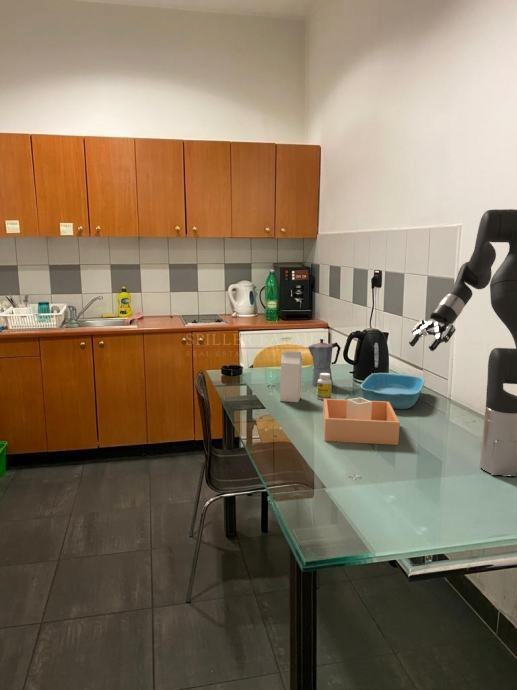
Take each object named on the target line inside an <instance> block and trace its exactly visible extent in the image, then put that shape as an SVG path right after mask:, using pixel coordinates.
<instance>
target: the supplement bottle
mask: <svg viewBox="0 0 517 690" xmlns="http://www.w3.org/2000/svg"><path fill="white" fill-rule="evenodd" d="M329 378H330V374H329V373H320V379H319V380H318V387H317V389H316V390H317V391H316V398H317V399H319V400H322V401H324V399H332V398H331V397H332V387H333V384H332V381H333V380H332V381H331V380H330V379H329Z"/></svg>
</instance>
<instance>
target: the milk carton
mask: <svg viewBox="0 0 517 690" xmlns="http://www.w3.org/2000/svg"><path fill="white" fill-rule="evenodd" d="M302 368H303V358H302V351H297V350H296V351H294V350H282V355H281V359H280V376H279V377H280V380H279V381H280V382H279V385H280V386H279V402H289V403H299V401H300V399H301V395H302V393H301V391H302V370H303V369H302Z"/></svg>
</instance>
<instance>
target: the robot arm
mask: <svg viewBox="0 0 517 690" xmlns="http://www.w3.org/2000/svg"><path fill="white" fill-rule="evenodd" d="M492 243H508V245H509V247H508V252H507V254H506V256H505V258H504V260H503V261H502V263H501V264H500V265H499V267H498V268H497V269H496V271H495V272H494V274H493V276H492V266H493V265H494V263H495V262H496V258H497V253H496V252H497V251H496V249H495V247H494V246H493V244H492ZM455 279H456V280H455V281H454V284H453V285H452V287H451V288H450V290H449V291H448V292H447V294H446V295H445V296H444V297H443V298H442V299H441V300H440V301H439V302H438V304H437V305H436V307H435V308H434V310H433V311H432V312H431V313H430V317H429V319H428V320H424V319H423V318H420V319H419V321H418V322H417V323H416V324H415V325H414V326H413V327H412V329H410V331H411V333H412V334H413V335H412V337H411V338H410V339H409V342H408V343H409V345H410V347H415V345H416V344H417V343H418V341H419V340H420V339H421V338H423V337H427V336H434V337H435V338H434V339H433V340H432V341H431V343H430V344H429V345H428V349H429V350H430V351H431V352H434V351H435V350H437V348H438V346H439V345H441V344H442V343H445V344H446V343H448V342H449V341H450V339H451V338H452V336H453V335H454V334H455V332H456V330H457V329H456V328H455V326H454V325H453V324H454V323H455V321H456V320H457V319H458V318H459V316H460V315H461V313H462V312H463V311H464V310H463V309H464V308H465V306H466V305H467V304H468V303H469V301H470V300H471V299H472V297H473V290H472V289H471V288H474V289H476V290H483V289H485V288H487V287H488V285H489V291H490V293H489V296H490V304H491V308H492V309H493V311H494V313H495V314H496V317H498V319H500V320H501V322H502V323H503V324H504V326H506V328H507V329H508V331H509V333H510V335H511V336H512V339H513V342H514V345H515V348H512V347H495V348H493V349H492V350H491V351H490V354H489V356H488V363H487V381H486V382H487V383H486V395H485V396H486V399H485V409H484V410H485V411H484V419H483V428H482V437H481V438H482V439H481V440H482V441H481V448H480V458H479V468H480V467H481V468H482V469H483V470H485V471H487V472H489V473H491V474H492V475H511V476H516V477H517V474H516V473H517V395H515V394H512V393H510V392H508V391H506V390H505V389H504V384H507V385H509V384H510V385H517V209H515V208H512V209H511V208H510V209H509V208H508V209H507V208H506V209H488V210H486V211H484V213H483V214H482V216H481V218H480V221H479V226H478V229H477V235H476V239H475V244H474V249H473V252H472V254H471V256H470V258H469V261H467V262H463V264H462V265H461V266H460V268H459V271H458V273H457V277H456V278H455ZM469 286H470V287H471V288H470V287H469ZM481 468H480V469H481ZM482 469H481V470H482ZM483 470H482V471H483ZM485 471H484V472H485ZM487 472H486V473H487ZM489 473H488V474H489ZM491 474H490V475H491ZM492 475H491V476H492Z"/></svg>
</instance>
